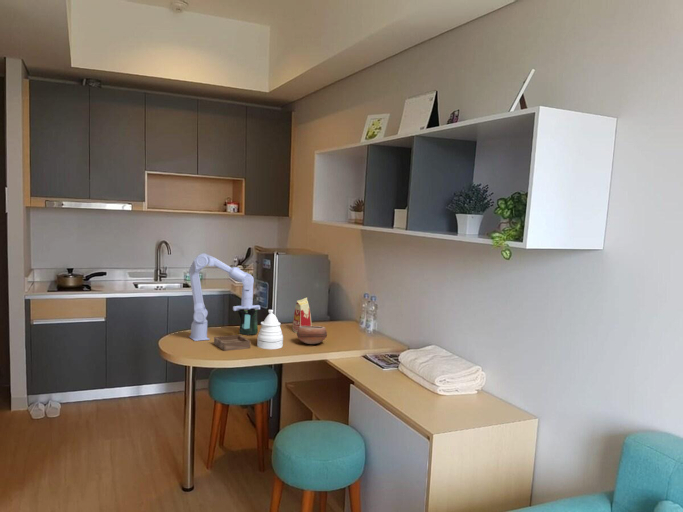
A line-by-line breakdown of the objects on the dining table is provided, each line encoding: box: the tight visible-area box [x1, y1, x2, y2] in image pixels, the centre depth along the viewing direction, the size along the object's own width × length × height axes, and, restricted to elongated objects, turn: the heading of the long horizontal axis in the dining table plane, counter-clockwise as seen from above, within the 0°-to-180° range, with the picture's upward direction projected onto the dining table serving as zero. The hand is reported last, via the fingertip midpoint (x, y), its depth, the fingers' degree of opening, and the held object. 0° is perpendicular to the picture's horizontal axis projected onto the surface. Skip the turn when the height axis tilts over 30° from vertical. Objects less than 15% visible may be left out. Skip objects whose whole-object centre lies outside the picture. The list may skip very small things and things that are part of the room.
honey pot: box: [256, 309, 284, 350], centre depth 267 cm, size 13×13×18 cm
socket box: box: [213, 334, 251, 352], centre depth 262 cm, size 14×14×4 cm
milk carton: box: [292, 297, 312, 334], centre depth 301 cm, size 9×9×20 cm
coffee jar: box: [238, 300, 259, 336], centre depth 289 cm, size 10×8×19 cm
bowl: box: [296, 325, 328, 345], centre depth 276 cm, size 16×16×10 cm
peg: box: [242, 314, 250, 329], centre depth 275 cm, size 3×3×7 cm
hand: (245, 323), depth 275 cm, fingers closed on peg, 3 cm apart
